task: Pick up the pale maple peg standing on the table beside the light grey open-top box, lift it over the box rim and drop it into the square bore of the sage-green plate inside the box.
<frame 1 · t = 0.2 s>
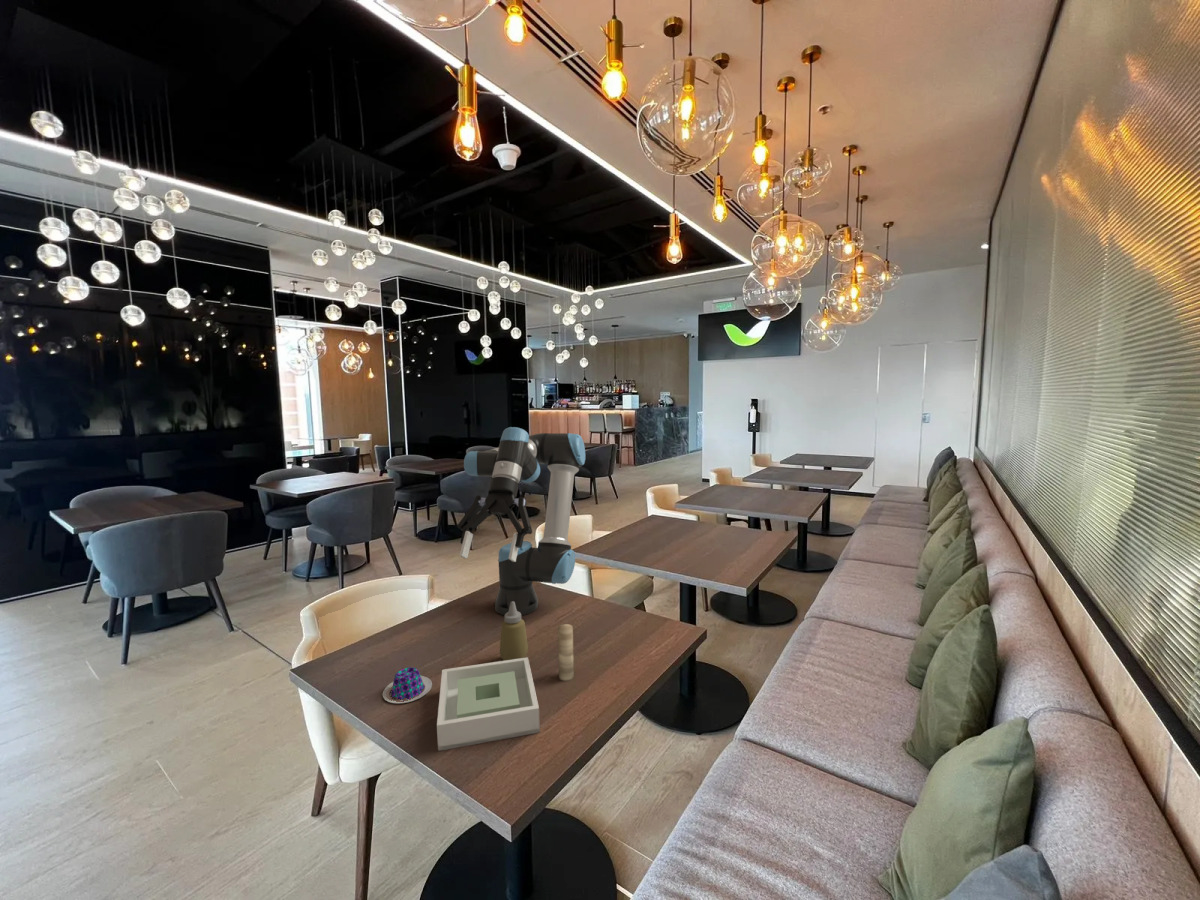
hand: (487, 558, 123), 36 cm above the table, tool tilted 35°, fingers open, 13 cm apart
open box: (488, 710, 120), on the table
peg: (566, 676, 134), on the table
squeeze bottle: (514, 662, 141), on the table
bore plate: (487, 699, 120), in the open box, point 3 cm above the table
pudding: (407, 692, 129), on the table
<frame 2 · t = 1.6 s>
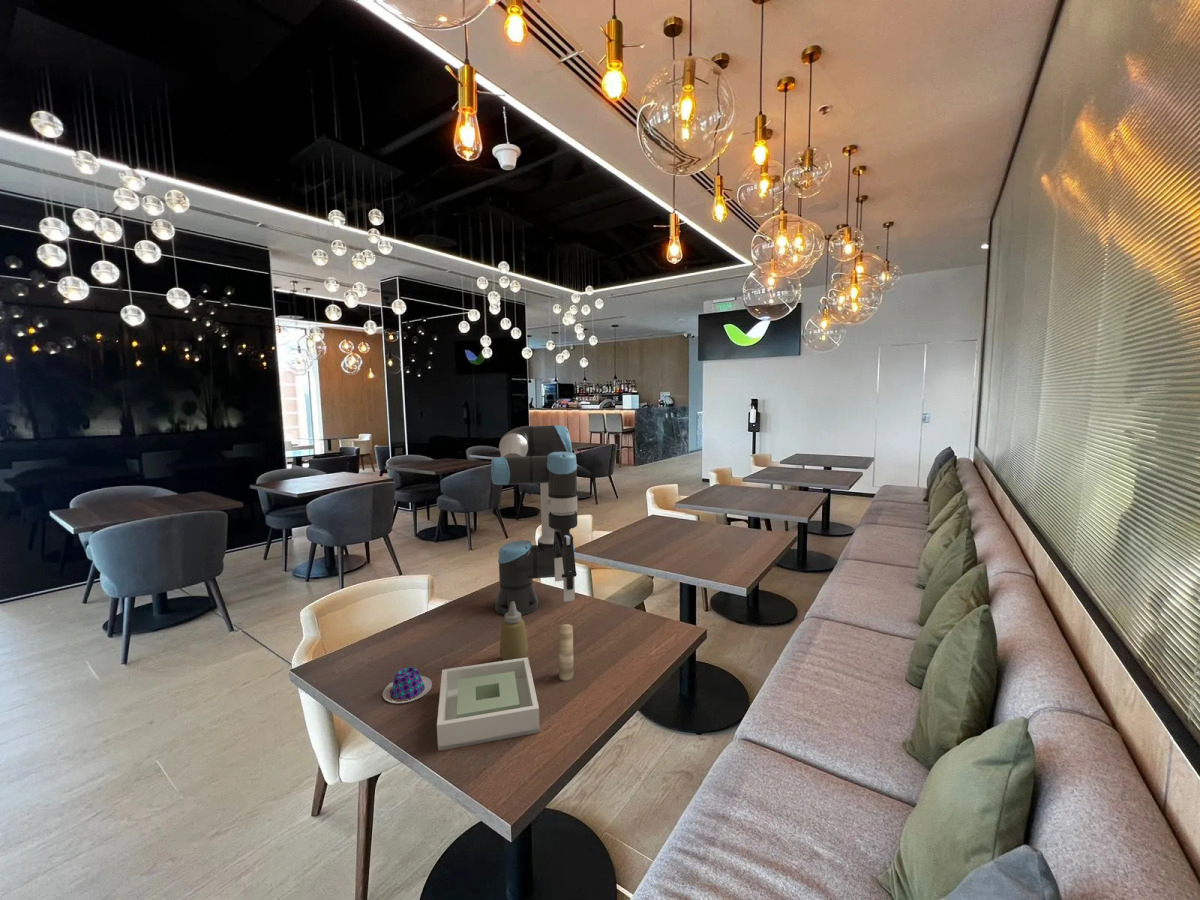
hand: (564, 590, 131), 25 cm above the table, tool pointing down, fingers open, 13 cm apart
nothing on the table moved.
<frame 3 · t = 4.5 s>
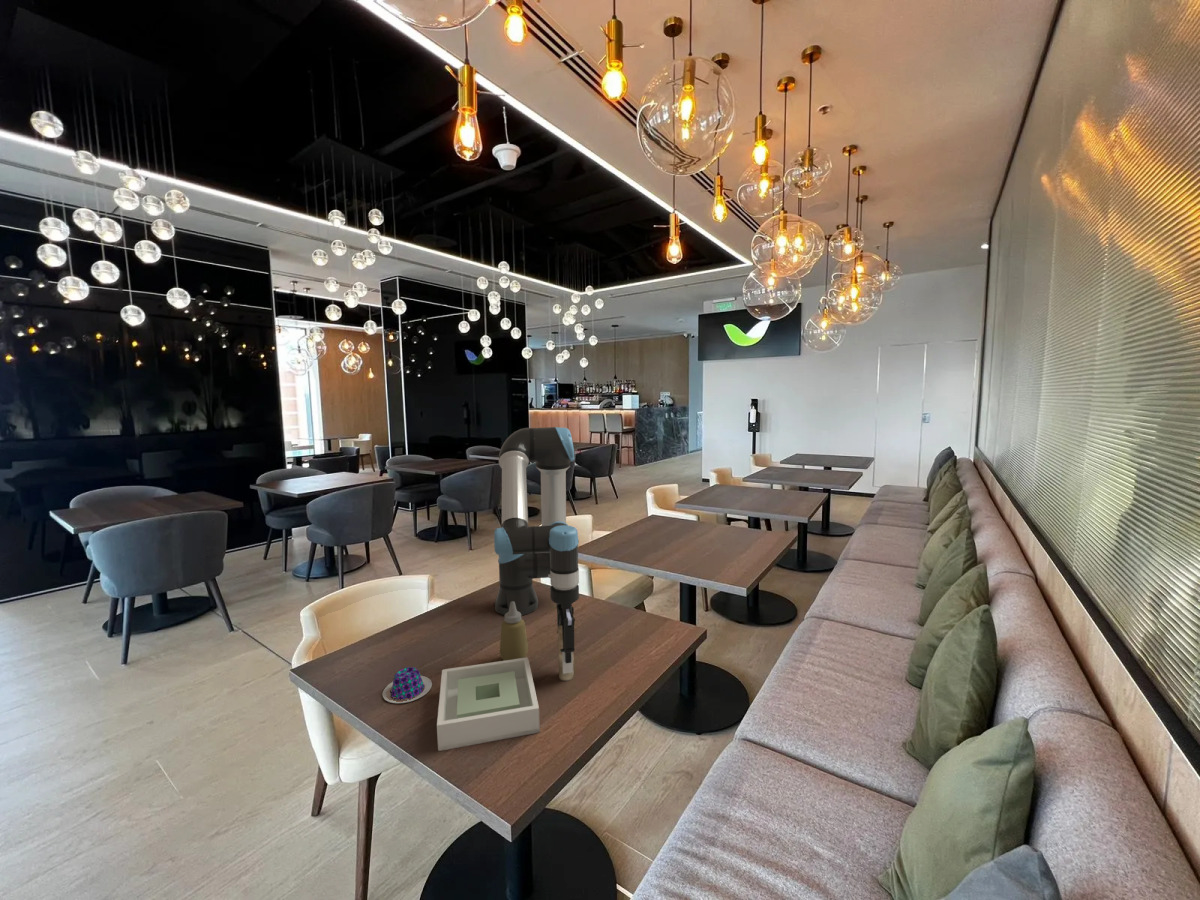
hand: (566, 667, 134), 3 cm above the table, tool pointing down, fingers closed on peg, 4 cm apart
peg: (566, 676, 134), on the table, touching gripper
everything else where it was.
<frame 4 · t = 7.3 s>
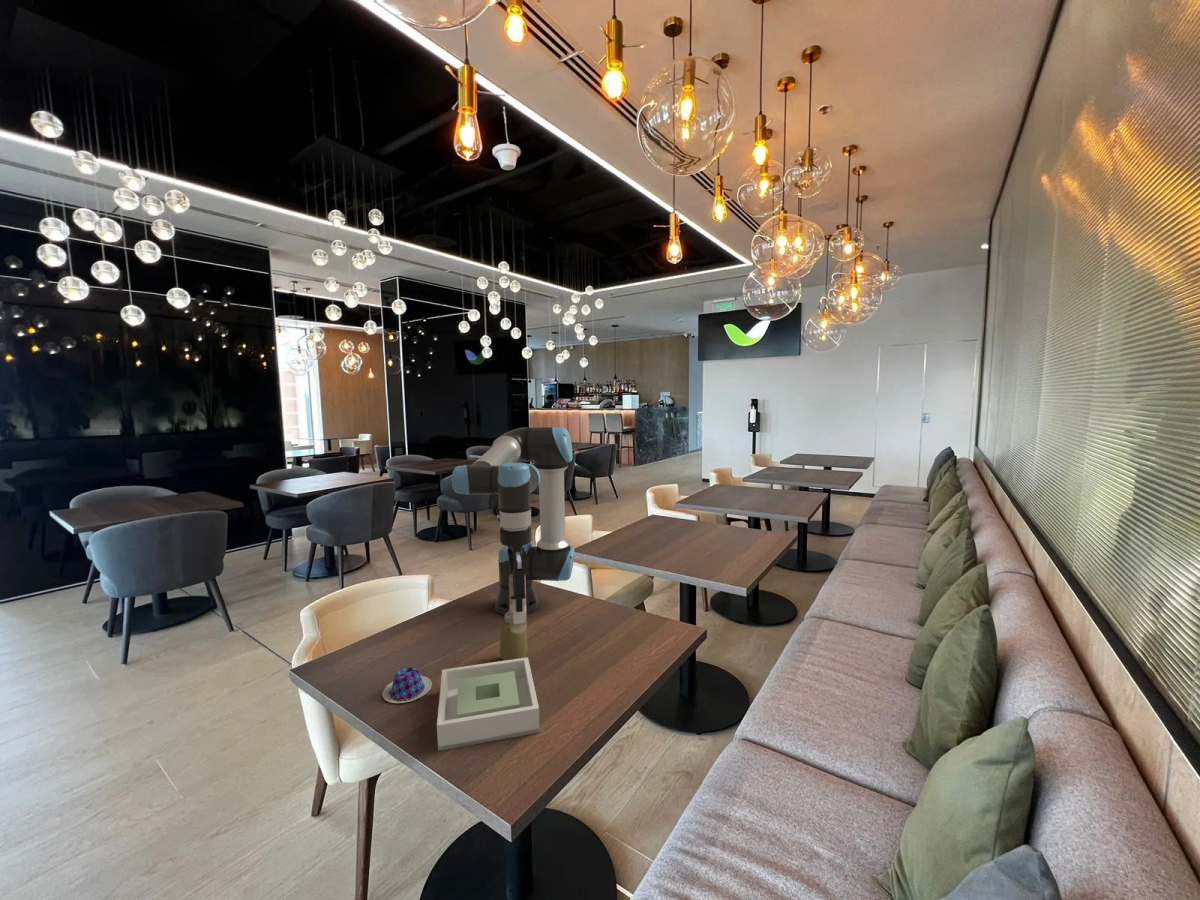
hand: (518, 618, 123), 21 cm above the table, tool pointing down, fingers closed on peg, 4 cm apart
peg: (518, 630, 123), point 18 cm above the table, touching gripper
everything else where it was.
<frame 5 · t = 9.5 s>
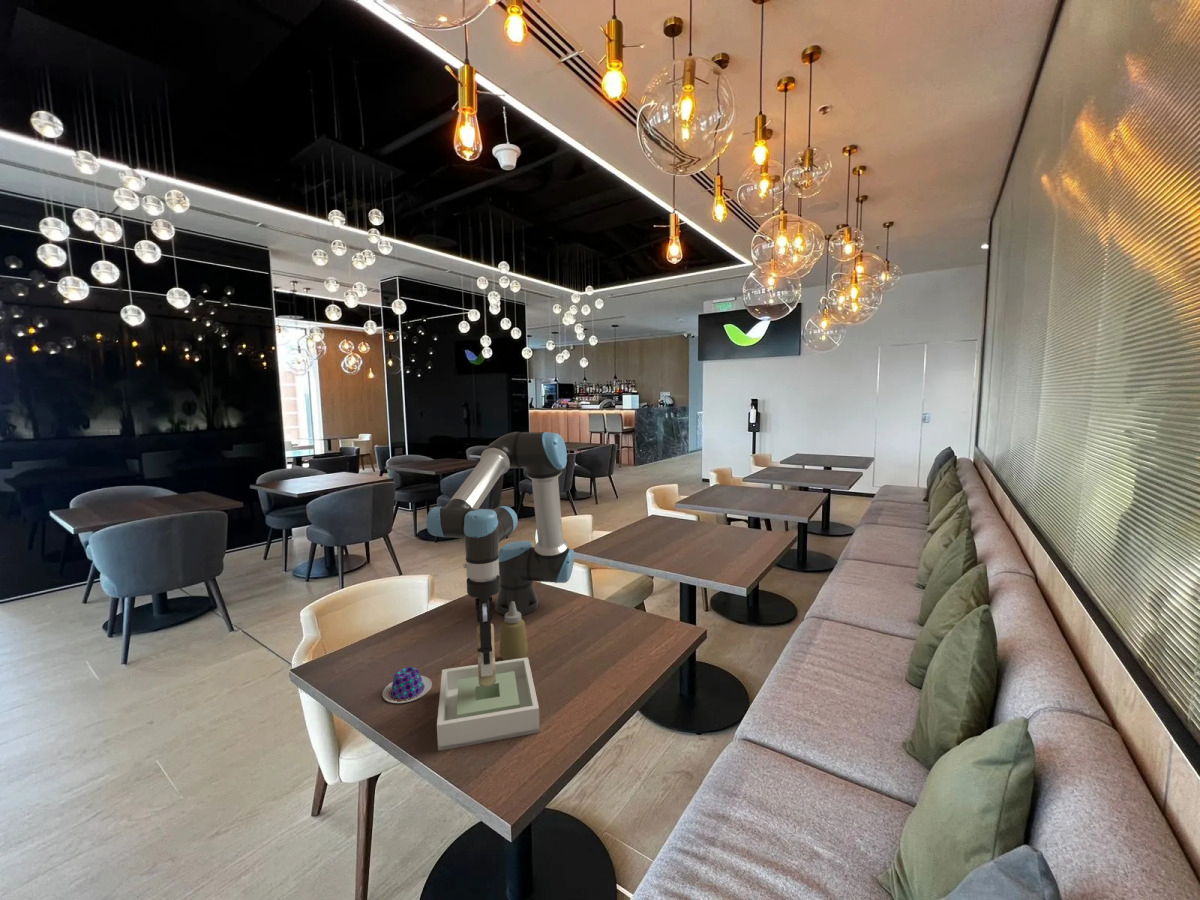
hand: (486, 669, 119), 11 cm above the table, tool pointing down, fingers closed on peg, 4 cm apart
peg: (487, 681, 119), point 8 cm above the table, touching gripper
everything else where it was.
when the fingers open (7 cm above the table, at t = 10.7 s): peg drops 2 cm, resting on open box.
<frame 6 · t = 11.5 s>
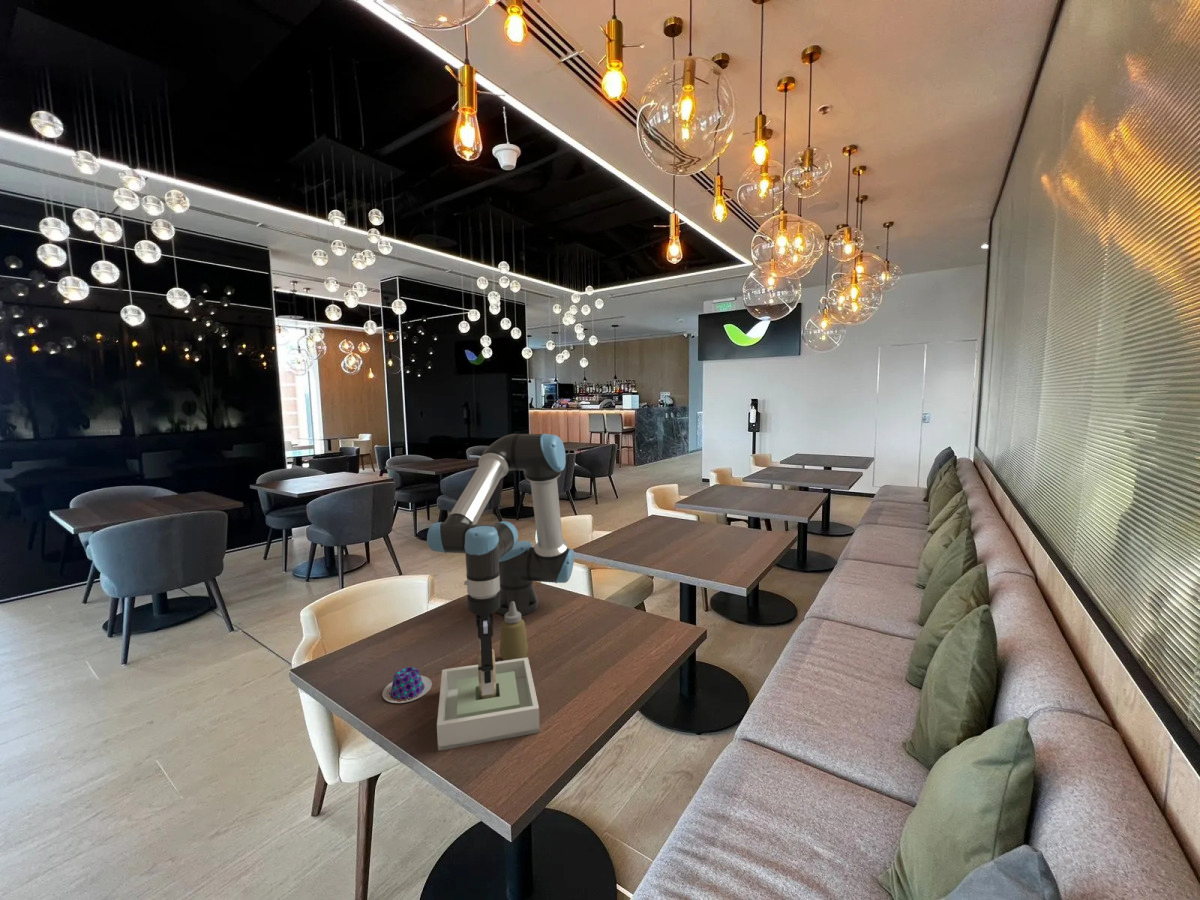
hand: (487, 677, 119), 9 cm above the table, tool pointing down, fingers open, 13 cm apart
peg: (488, 706, 120), point 1 cm above the table, touching open box
everything else where it was.
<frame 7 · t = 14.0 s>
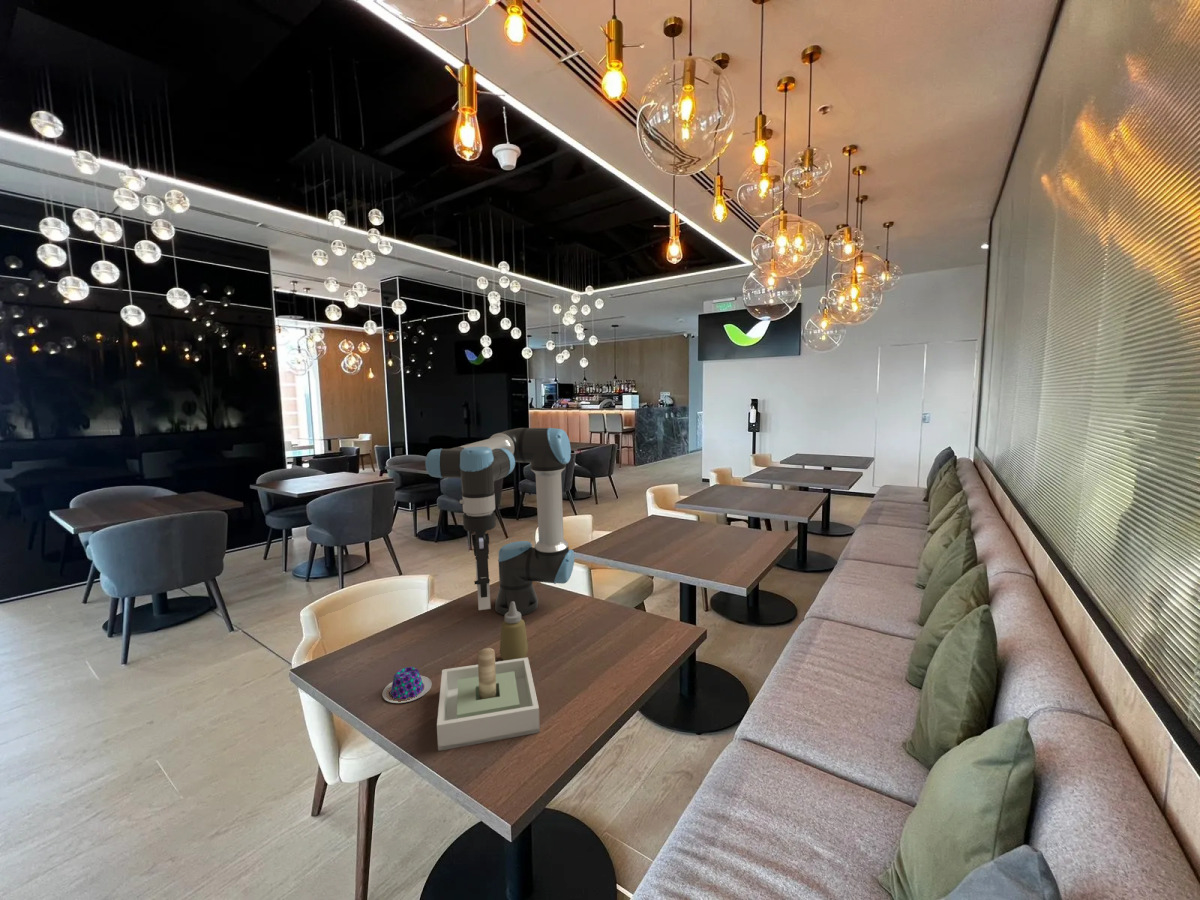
hand: (483, 596, 121), 27 cm above the table, tool pointing down, fingers open, 13 cm apart
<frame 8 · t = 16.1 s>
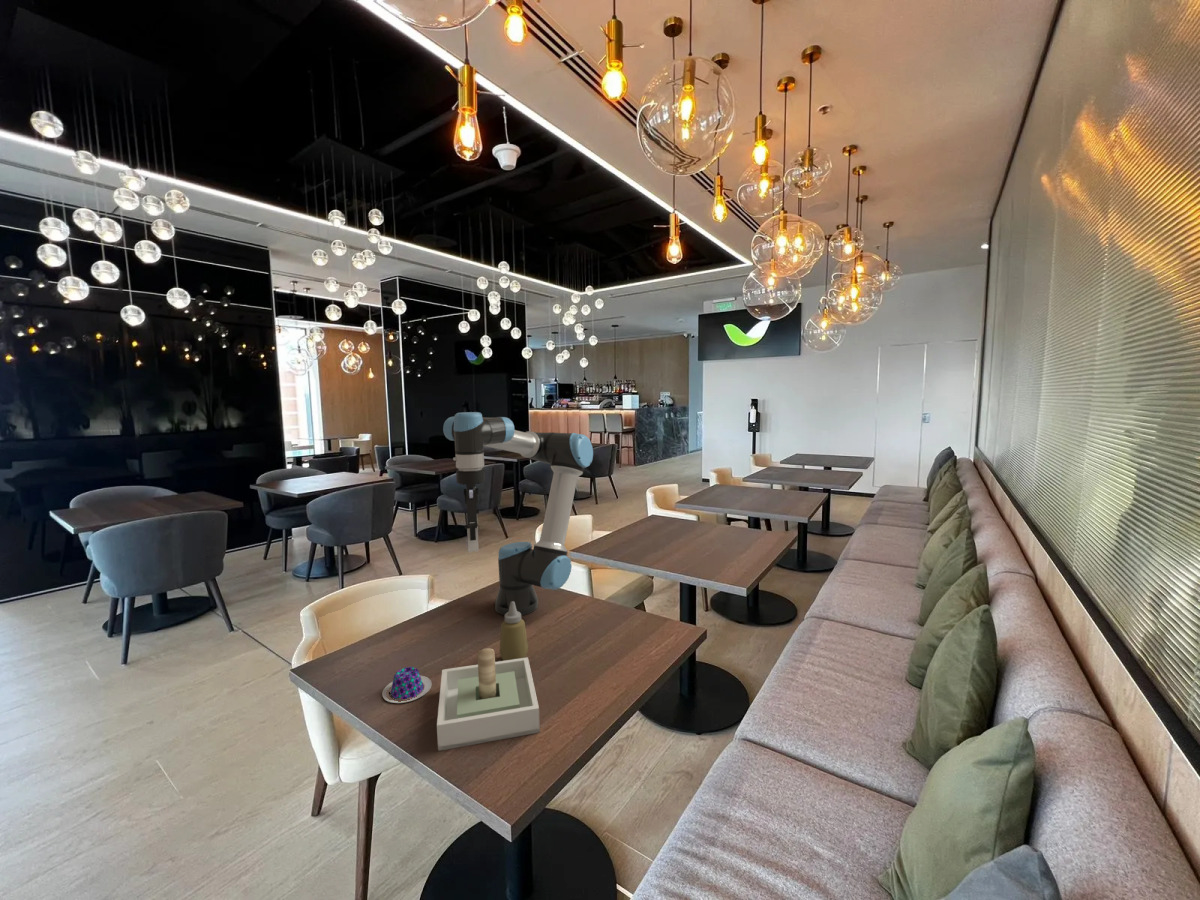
hand: (473, 543, 138), 35 cm above the table, tool pointing down, fingers open, 13 cm apart
at the end: peg 0.0 cm off-centre on the bore plate, point 1.0 cm above the bore plate's base; peg tilted 0°; the gripper is holding nothing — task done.
